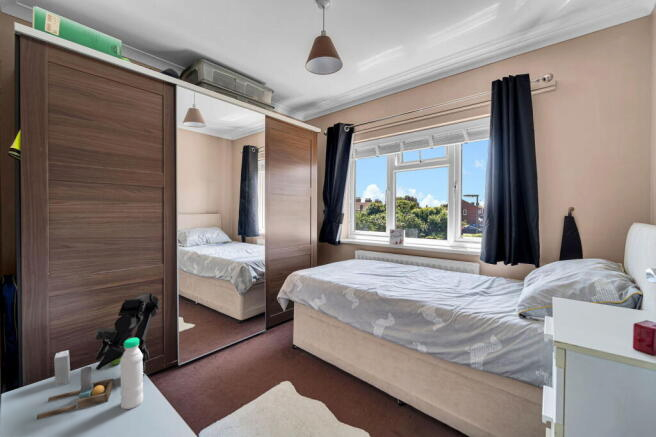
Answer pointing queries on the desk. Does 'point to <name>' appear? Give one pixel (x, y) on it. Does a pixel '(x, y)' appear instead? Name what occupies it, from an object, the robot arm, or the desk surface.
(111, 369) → the desk surface
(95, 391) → the ball
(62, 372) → the skincare box
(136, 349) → the water bottle
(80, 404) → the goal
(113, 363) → the snail figurine
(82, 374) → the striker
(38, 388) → the desk surface
